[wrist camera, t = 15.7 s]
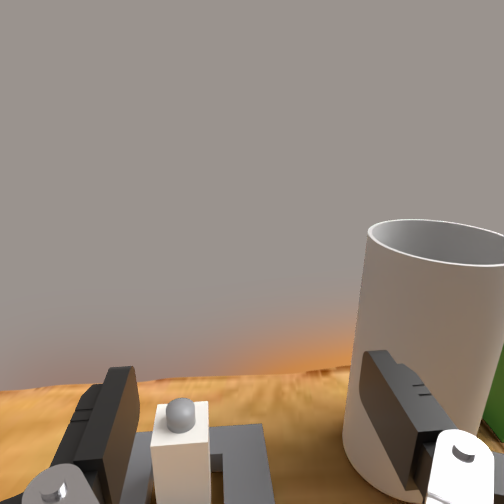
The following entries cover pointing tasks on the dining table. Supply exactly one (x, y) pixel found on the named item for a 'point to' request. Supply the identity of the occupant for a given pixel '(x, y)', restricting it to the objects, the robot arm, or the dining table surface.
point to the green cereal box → (496, 401)
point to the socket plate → (211, 466)
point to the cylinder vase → (427, 327)
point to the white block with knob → (181, 453)
